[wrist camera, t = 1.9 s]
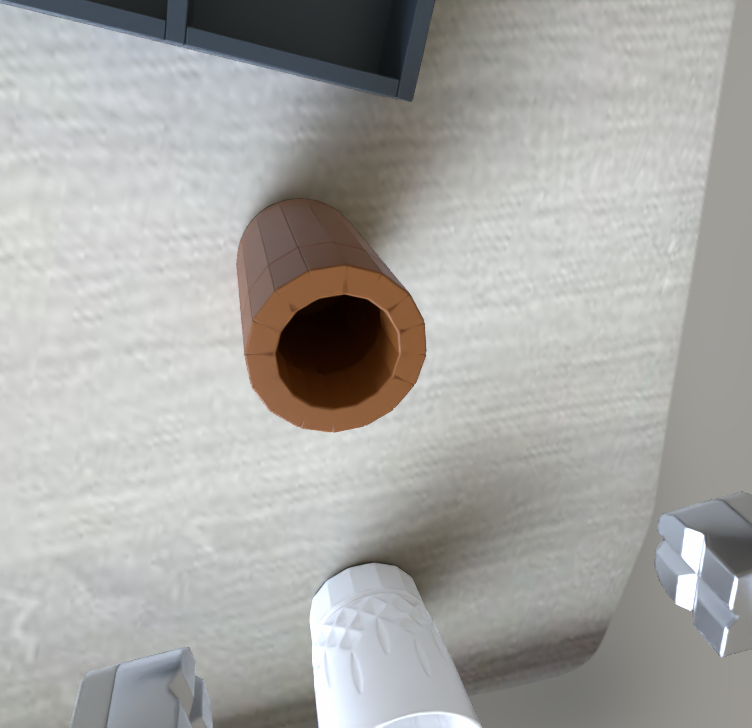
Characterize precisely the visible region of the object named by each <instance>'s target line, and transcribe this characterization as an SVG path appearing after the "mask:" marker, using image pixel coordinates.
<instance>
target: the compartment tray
mask: <svg viewBox="0 0 752 728" xmlns="http://www.w3.org/2000/svg"><path fill="white" fill-rule="evenodd" d="M0 3H3V4H7V5H11V6H15V7H19V8H23V9H27V10H31V11H35V12H39V13H43V14H48V15H52V16H56V17H60V18H64V19H68V20H72V21H76V22H80V23H84V24H88V25H93V26H97V27H101V28H105V29H109V30H113V31H117V32H121V33H125V34H129V35H133V36H138V37H142V38H146V39H150V40H154V41H158V42H162V43H166V44H170V45H174V46H178V47H183V48H187V49H191V50H195V51H199V52H203V53H207V54H211V55H215V56H219V57H223V58H228V59H232V60H236V61H240V62H244V63H248V64H252V65H256V66H260V67H264V68H268V69H273V70H277V71H281V72H285V73H289V74H293V75H297V76H301V77H305V78H309V79H314V80H318V81H322V82H326V83H330V84H334V85H338V86H342V87H346V88H350V89H354V90H359V91H363V92H367V93H371V94H375V95H379V96H383V97H388V98H394V99H399V100H404V101H410V102H412V101H413V97H414V92H415V88H416V83H417V79H418V75H419V70H420V66H421V61H422V57H423V52H424V48H425V43H426V39H427V34H428V30H429V25H430V21H431V17H432V12H433V8H434V3H435V0H0Z"/></svg>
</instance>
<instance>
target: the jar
mask: <svg viewBox="0 0 752 728" xmlns="http://www.w3.org/2000/svg"><path fill="white" fill-rule="evenodd" d="M237 275H238V286H239V298H240V309H241V321H242V332H243V343H244V355H245V360H246V365H247V369H248V374H249V379H250V384H251V386H252V388H253V390H254V391H255V392H256V394H257V395H258V396H259V397H260V399H261V400H262V401H263V403H264V404H265V405H266V407H267V408H268V409H269V411H271V412H273V413H274V414H276V415H277V416H279V417H281V418H283V419H284V420H286V421H288V422H290V423H292V424H293V425H295V426H297V427H301V428H303V429H310V430H317V431H324V432H339V431H344V430H349V429H354V428H359V427H363V426H365V425H368V424H370V423H372V422H373V421H375V420H377V419H379V418H380V417H382V416H384V415H385V414H387V413H389V412H391V411H392V410H393V408H395V407H396V406H397V405H398V404H399V403H400V402H401V400H402V399H403V398H404V397H405V396H406V395H407V393H408V392H409V391H410V390H411V389H412V387H413V386H414V384H416V382H417V379H418V376H419V374H420V371H421V368H422V365H423V363H424V360H425V357H426V336H425V323H424V319H423V317H422V315H421V313H420V312H419V310H418V308H417V306H416V304H415V302H414V300H413V298H412V296H411V295H410V293H409V292H408V291H407V290H406V289H405V287H404V286H403V285H402V284H401V283H400V281H399V280H398V279H397V278H396V277H395V275H394V274H393V273H392V272H391V271H390V269H389V268H388V267H387V266H386V264H385V263H384V262H383V261H382V260H381V259H380V257H379V256H378V255H377V254H376V253H375V251H374V250H373V249H372V248H371V247H370V245H369V244H368V243H367V242H366V241H365V239H364V238H363V237H362V236H361V235H360V233H359V232H358V231H357V230H356V229H355V227H354V226H353V225H352V224H351V223H350V221H348V220H347V219H346V218H345V217H344V216H343V215H341V214H340V213H339V212H338V211H337V210H335V209H334V208H332V207H330V206H328V205H326V204H324V203H322V202H319V201H315V200H310V199H290V200H285V201H281V202H278V203H275V204H273V205H271V206H269V207H267V208H266V209H264V210H263V211H262V212H260V213H259V214H258V215H257V216H256V217H255V218H254V219H253V220H252V221H251V222H250V224H249V225H248V226H247V228H246V230H245V231H244V233H243V236H242V238H241V241H240V244H239V248H238V255H237Z"/></svg>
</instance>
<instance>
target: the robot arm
mask: <svg viewBox="0 0 752 728" xmlns="http://www.w3.org/2000/svg"><path fill="white" fill-rule="evenodd" d="M657 531H658V532H659V534H660V535H661V536H662V537H663V538H664V539H663V540H662V542H661V543H660V544H659V546H658V547H657V548H656V550H655V561H654V565H655V568H656V572H657V575H658V578H659V581H660V583H661V585H662V586H663V588H664V589H665V591H666V593H667V594H668V595H669V596H670V598H671V599H672V600H673V601H674V603H675V604H677V605H679V606H681V607H684V608H686V609H688V610H690V611H692V612H693V625H694V626H695V627H696V629H697V630H698V631H699V632H700V633H701V634H702V636H703V637H704V638H705V639H706V640H707V642H708V643H709V644H710V645H711V646H712V647H713V649H714V650H715V651H716V652H717V653H718V654H719V656H720V657H721V658H722V657H726V656H729V655H732V654H736V653H740V652H743V651H747V650H750V649H752V495H751V494H748V493H746V492H743V491H741V492H737V493H734V494H730V495H727V496H723V497H719V498H716V499H714V500H708V501H704V502H701V503H698V504H694V505H691V506H687V507H684V508H680V509H677V510H673V511H670V512H666V513H664V514H662V516H661V517H660V519H659V520H658V528H657ZM70 728H213V722H212V713H211V704H210V700H209V696H208V692H207V688H206V686H205V683H204V681H203V679H201V678H199V677H197V676H195V659H194V657H193V655H192V652H191V650H190V648H189V647H183V648H179V649H175V650H171V651H167V652H163V653H159V654H155V655H151V656H147V657H143V658H139V659H135V660H131V661H127V662H123V663H121V664H117V665H113V666H109V667H105V668H101V669H98V670H94V671H90V672H87V673H86V675H85V676H84V678H83V680H82V681H81V683H80V686H79V691H78V695H77V699H76V703H75V707H74V712H73V716H72V720H71V724H70Z"/></svg>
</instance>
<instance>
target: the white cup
mask: <svg viewBox="0 0 752 728" xmlns="http://www.w3.org/2000/svg"><path fill="white" fill-rule="evenodd" d="M310 628H311V636H312V645H313V647H312V660H313V671H314V683H315V698H316V707H317V716H318V726H319V728H483V727H482V725H481V723H480V721H479V719H478V716H477V714H476V712H475V710H474V707H473V705H472V703H471V701H470V699H469V696H468V694H467V692H466V690H465V687H464V685H463V683H462V681H461V678H460V676H459V674H458V671H457V669H456V667H455V665H454V662H453V660H452V658H451V656H450V654H449V652H448V650H447V648H446V646H445V644H444V642H443V639H442V637H441V635H440V633H439V631H438V629H437V627H436V625H435V623H434V621H433V618H432V617H431V616H430V615H429V613H428V612H427V610H426V607H425V605H424V603H423V601H422V599H421V597H420V594H419V592H418V590H417V587H416V585H415V583H414V580H413V578H412V577H411V576H409V575H408V574H406V573H405V572H404V571H402V570H401V569H399V568H398V567H397V566H393V565H387V564H380V563H369V564H364V565H359V566H354V567H350V568H347V569H345V570H344V571H342V572H340V573H339V574H337V575H335V576H334V577H332V578H330V579H329V580H327V581H326V582H325V584H324V585H323V586H322V587H321V589H320V590H319V591H318V593H317V594H316V595H315V596H314V598H313V600H312V606H311V612H310Z"/></svg>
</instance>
